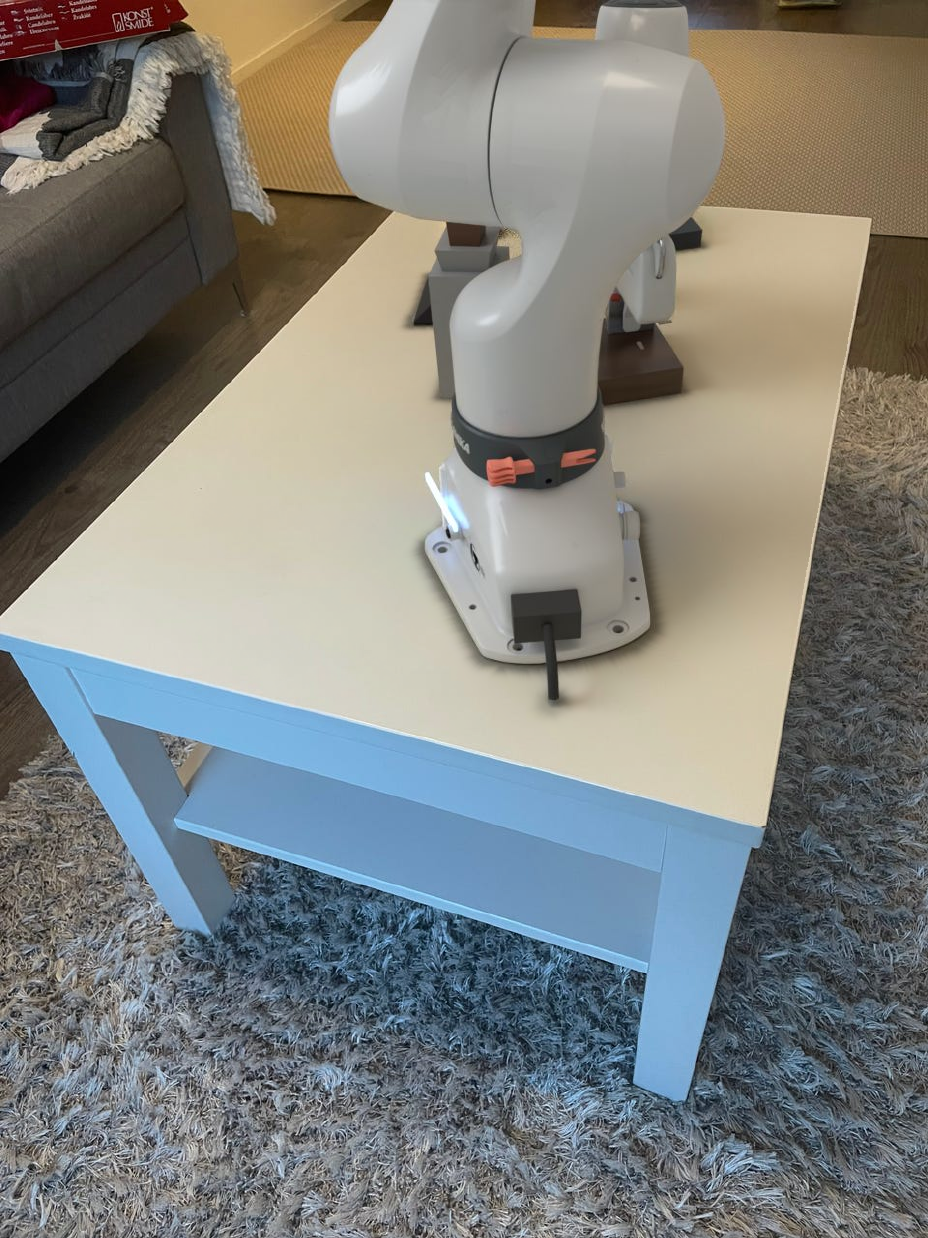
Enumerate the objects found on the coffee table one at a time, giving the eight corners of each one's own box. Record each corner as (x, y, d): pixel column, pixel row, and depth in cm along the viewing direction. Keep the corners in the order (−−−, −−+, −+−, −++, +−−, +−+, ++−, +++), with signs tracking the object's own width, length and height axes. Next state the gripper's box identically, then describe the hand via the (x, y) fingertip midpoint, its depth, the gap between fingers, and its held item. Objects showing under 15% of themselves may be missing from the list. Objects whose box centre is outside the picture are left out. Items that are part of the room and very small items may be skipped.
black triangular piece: (472, 326, 112) (469, 289, 109) (410, 326, 113) (406, 289, 110) (484, 275, 121) (481, 239, 117) (426, 275, 122) (422, 240, 118)
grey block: (650, 321, 104) (653, 288, 101) (654, 328, 103) (657, 295, 100) (605, 326, 104) (606, 293, 101) (608, 334, 103) (609, 300, 100)
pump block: (700, 246, 122) (704, 215, 119) (624, 258, 121) (625, 226, 118) (670, 209, 130) (672, 178, 127) (598, 219, 130) (599, 189, 127)
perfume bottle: (503, 400, 101) (494, 231, 88) (440, 397, 102) (423, 229, 89) (513, 366, 105) (507, 200, 92) (453, 363, 107) (439, 199, 94)
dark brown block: (696, 390, 100) (699, 363, 97) (587, 407, 99) (588, 380, 96) (655, 326, 109) (657, 300, 107) (555, 342, 108) (555, 316, 106)
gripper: (699, 229, 86) (685, 366, 96) (636, 148, 100) (629, 275, 110) (630, 238, 85) (623, 375, 95) (577, 156, 100) (575, 282, 110)
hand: (626, 321), depth 103 cm, fingers closed on grey block, 2 cm apart
